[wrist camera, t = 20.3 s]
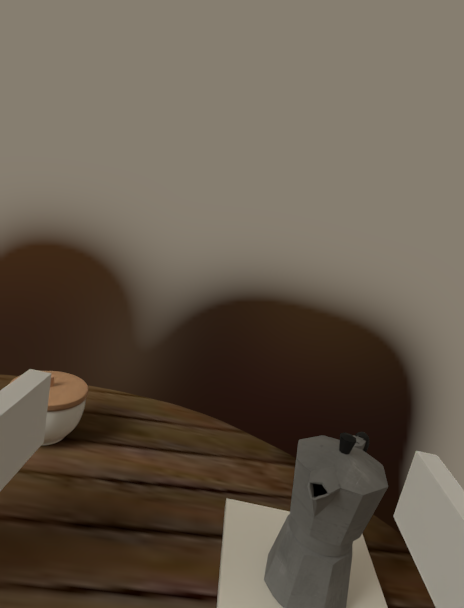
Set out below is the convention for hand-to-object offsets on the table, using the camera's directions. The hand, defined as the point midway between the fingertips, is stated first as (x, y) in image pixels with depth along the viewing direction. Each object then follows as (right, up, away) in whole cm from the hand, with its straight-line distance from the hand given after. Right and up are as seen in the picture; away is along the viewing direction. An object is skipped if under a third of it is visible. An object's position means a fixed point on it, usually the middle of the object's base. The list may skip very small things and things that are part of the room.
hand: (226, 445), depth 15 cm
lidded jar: (-28, -14, +47) cm, 57 cm away
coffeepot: (+9, -25, +31) cm, 41 cm away
